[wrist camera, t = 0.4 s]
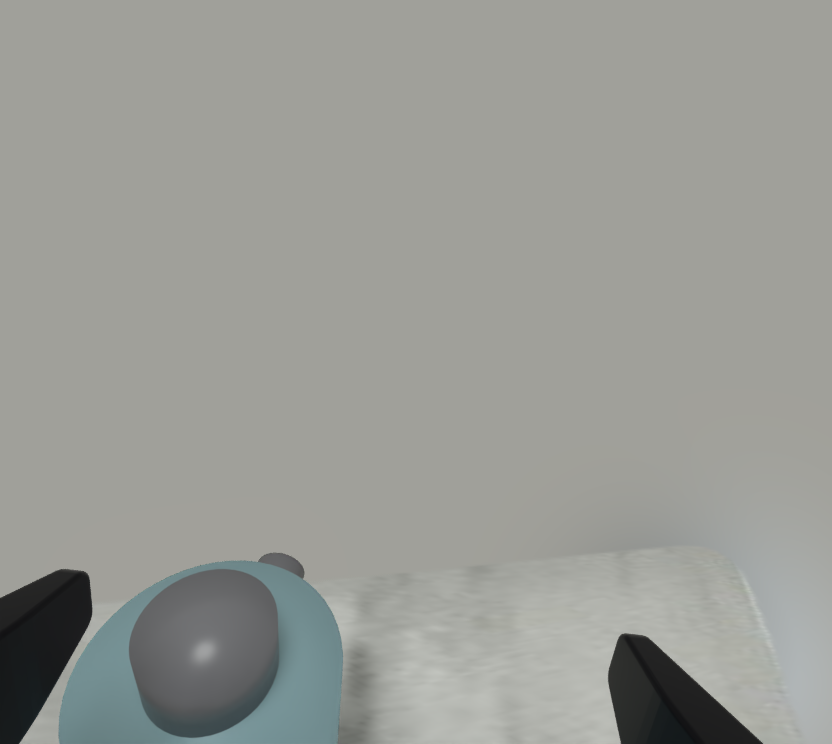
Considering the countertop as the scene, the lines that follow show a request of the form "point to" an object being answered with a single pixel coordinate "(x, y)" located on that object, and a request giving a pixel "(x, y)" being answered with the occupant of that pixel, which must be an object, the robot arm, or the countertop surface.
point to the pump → (212, 662)
